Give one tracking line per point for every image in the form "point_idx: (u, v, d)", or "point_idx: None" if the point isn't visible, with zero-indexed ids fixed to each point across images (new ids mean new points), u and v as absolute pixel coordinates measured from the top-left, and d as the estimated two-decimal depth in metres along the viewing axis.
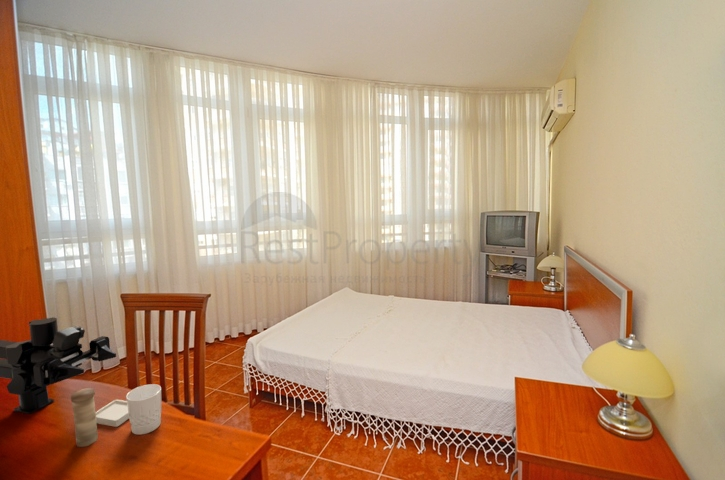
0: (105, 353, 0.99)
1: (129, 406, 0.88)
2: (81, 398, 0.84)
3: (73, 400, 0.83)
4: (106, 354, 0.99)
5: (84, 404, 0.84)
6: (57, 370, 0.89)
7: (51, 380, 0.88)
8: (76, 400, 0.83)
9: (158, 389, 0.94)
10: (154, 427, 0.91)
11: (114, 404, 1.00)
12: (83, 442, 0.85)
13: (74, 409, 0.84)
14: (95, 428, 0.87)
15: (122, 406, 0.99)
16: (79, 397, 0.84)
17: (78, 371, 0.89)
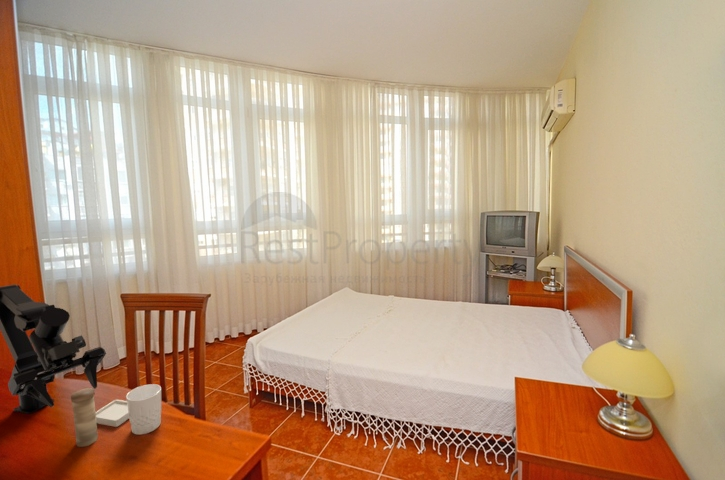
0: (90, 376, 0.92)
1: (129, 406, 0.88)
2: (81, 398, 0.84)
3: (73, 400, 0.83)
4: (90, 377, 0.92)
5: (84, 404, 0.84)
6: None
7: (24, 393, 0.83)
8: (76, 400, 0.83)
9: (158, 389, 0.94)
10: (154, 427, 0.91)
11: (114, 404, 1.00)
12: (83, 442, 0.85)
13: (74, 409, 0.84)
14: (95, 428, 0.87)
15: (122, 406, 0.99)
16: (79, 397, 0.84)
17: (48, 403, 0.83)
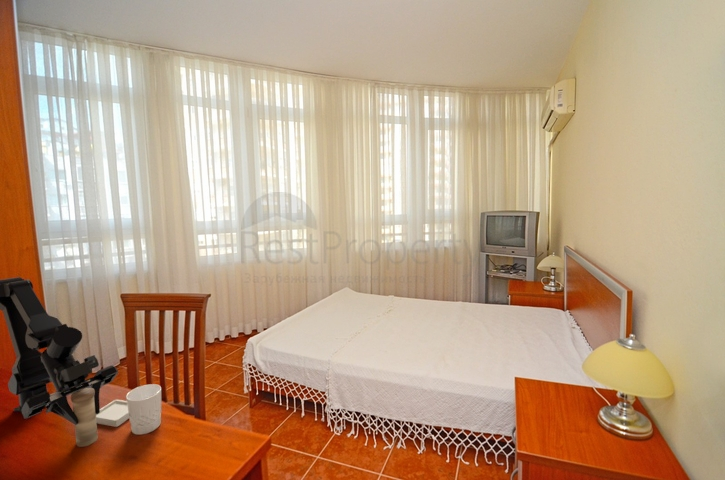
0: None
1: (129, 406, 0.88)
2: (81, 398, 0.84)
3: (73, 400, 0.83)
4: None
5: (84, 404, 0.84)
6: None
7: (48, 410, 0.83)
8: (76, 400, 0.83)
9: (158, 389, 0.94)
10: (154, 427, 0.91)
11: (114, 404, 1.00)
12: (83, 442, 0.85)
13: (74, 409, 0.84)
14: (95, 428, 0.87)
15: (122, 406, 0.99)
16: (79, 397, 0.84)
17: (73, 421, 0.83)
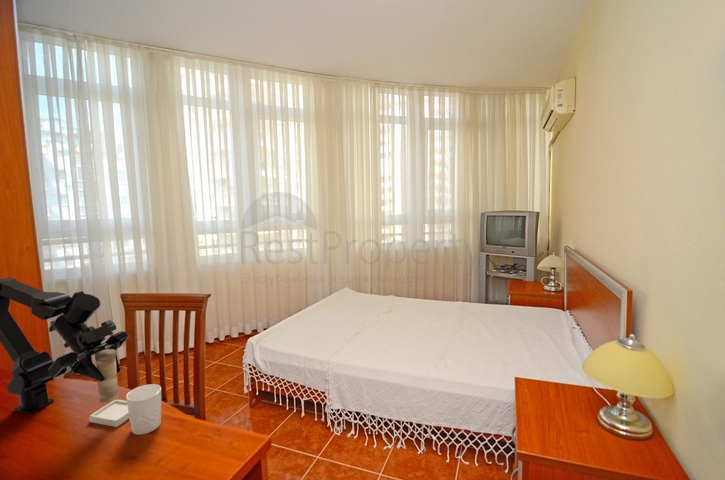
0: None
1: (129, 406, 0.88)
2: (107, 356, 0.91)
3: (99, 359, 0.90)
4: None
5: (109, 362, 0.91)
6: (82, 364, 0.90)
7: (73, 371, 0.89)
8: (102, 358, 0.90)
9: (158, 389, 0.94)
10: (154, 427, 0.91)
11: (114, 404, 1.00)
12: (108, 398, 0.92)
13: (99, 368, 0.91)
14: (117, 385, 0.94)
15: (122, 406, 0.99)
16: (105, 356, 0.91)
17: (99, 378, 0.90)
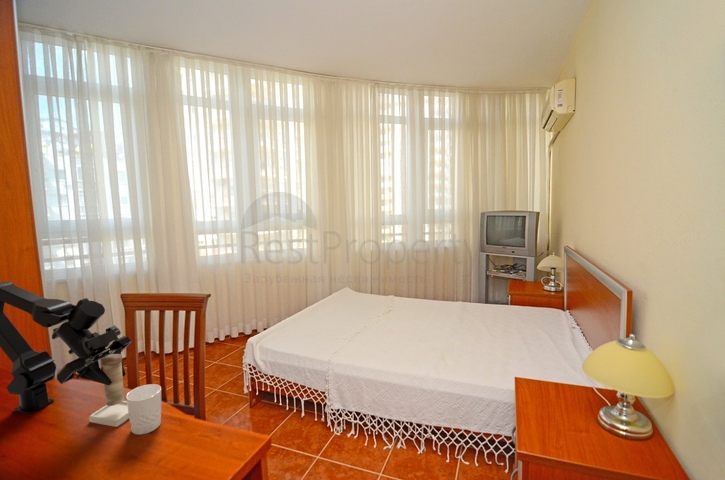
0: None
1: (129, 406, 0.88)
2: (114, 361, 0.94)
3: (106, 363, 0.93)
4: None
5: (116, 366, 0.94)
6: (89, 369, 0.92)
7: (80, 376, 0.91)
8: (110, 363, 0.93)
9: (158, 389, 0.94)
10: (154, 427, 0.91)
11: None
12: (115, 401, 0.95)
13: (106, 372, 0.93)
14: None
15: (122, 406, 0.99)
16: (112, 360, 0.93)
17: (106, 382, 0.93)
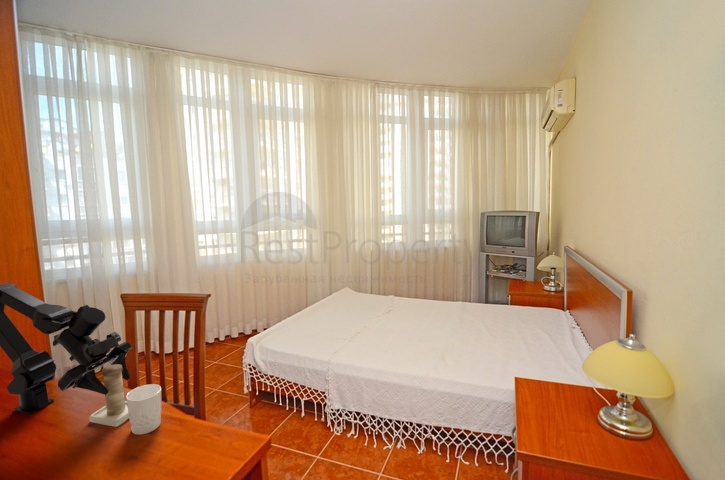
0: None
1: (129, 406, 0.88)
2: (114, 371, 0.94)
3: (106, 374, 0.93)
4: None
5: (116, 377, 0.94)
6: (85, 378, 0.91)
7: (76, 386, 0.90)
8: (110, 374, 0.93)
9: (158, 389, 0.94)
10: (154, 427, 0.91)
11: None
12: (116, 411, 0.95)
13: (107, 383, 0.93)
14: None
15: None
16: (112, 371, 0.94)
17: (103, 391, 0.92)
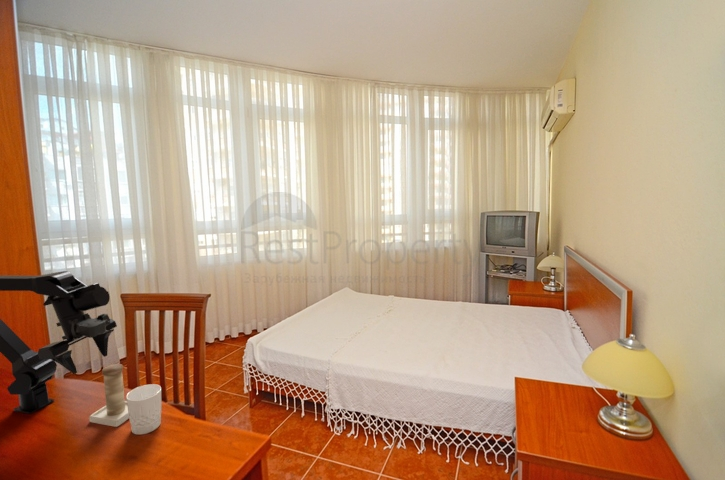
0: (101, 345, 1.04)
1: (129, 406, 0.88)
2: (115, 371, 0.94)
3: (107, 374, 0.93)
4: (101, 346, 1.04)
5: (117, 376, 0.95)
6: None
7: None
8: (110, 373, 0.93)
9: (158, 389, 0.94)
10: (154, 427, 0.91)
11: None
12: (116, 411, 0.95)
13: (107, 382, 0.94)
14: None
15: None
16: (113, 370, 0.94)
17: (72, 371, 0.95)
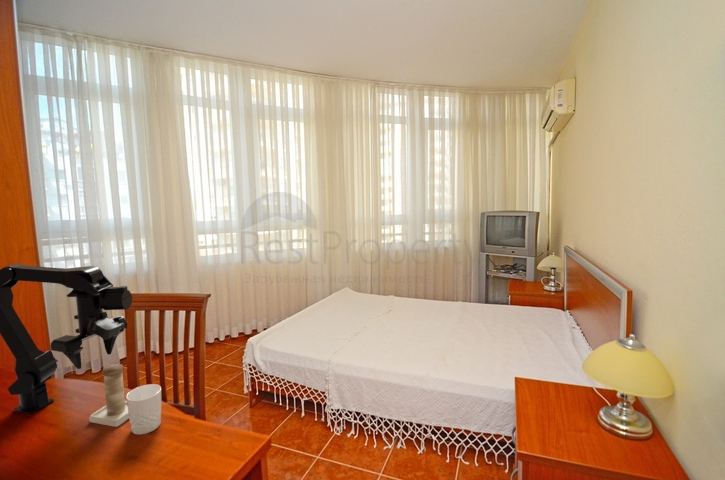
0: (108, 343, 1.06)
1: (129, 406, 0.88)
2: (115, 371, 0.94)
3: (107, 374, 0.93)
4: (108, 344, 1.06)
5: (117, 376, 0.95)
6: None
7: None
8: (111, 373, 0.93)
9: (158, 389, 0.94)
10: (154, 427, 0.91)
11: None
12: (116, 411, 0.95)
13: (107, 382, 0.94)
14: None
15: None
16: (113, 371, 0.94)
17: (77, 366, 0.97)
